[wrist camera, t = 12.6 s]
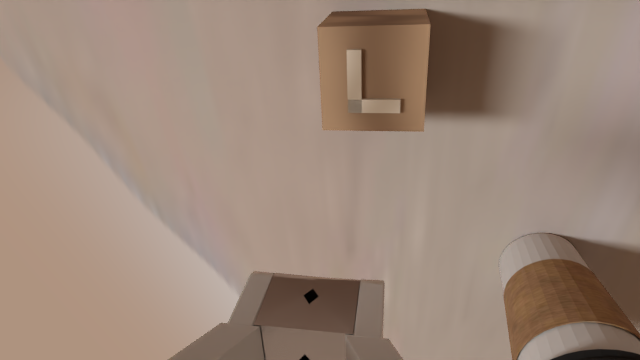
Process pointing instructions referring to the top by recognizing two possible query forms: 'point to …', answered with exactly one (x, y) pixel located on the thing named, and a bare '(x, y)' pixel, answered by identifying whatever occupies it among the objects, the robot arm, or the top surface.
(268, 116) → the top surface
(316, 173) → the top surface
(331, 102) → the lettered cube
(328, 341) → the robot arm
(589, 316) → the coffee cup
